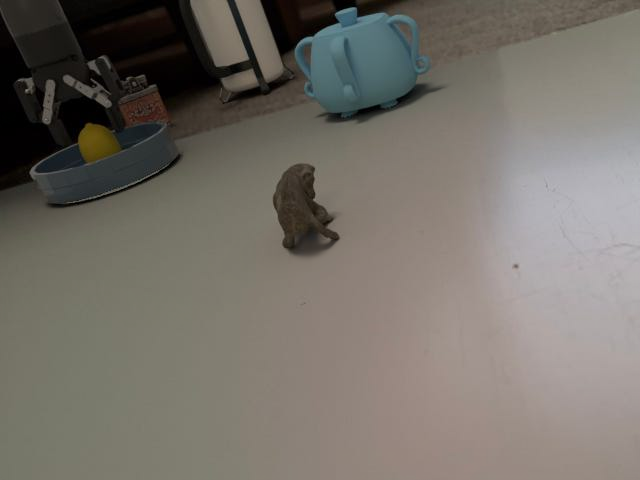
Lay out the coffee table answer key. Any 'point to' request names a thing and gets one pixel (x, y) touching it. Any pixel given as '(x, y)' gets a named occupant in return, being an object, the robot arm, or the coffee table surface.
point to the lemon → (97, 143)
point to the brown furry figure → (299, 204)
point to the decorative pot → (361, 62)
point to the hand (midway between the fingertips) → (94, 139)
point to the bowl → (105, 165)
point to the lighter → (142, 103)
